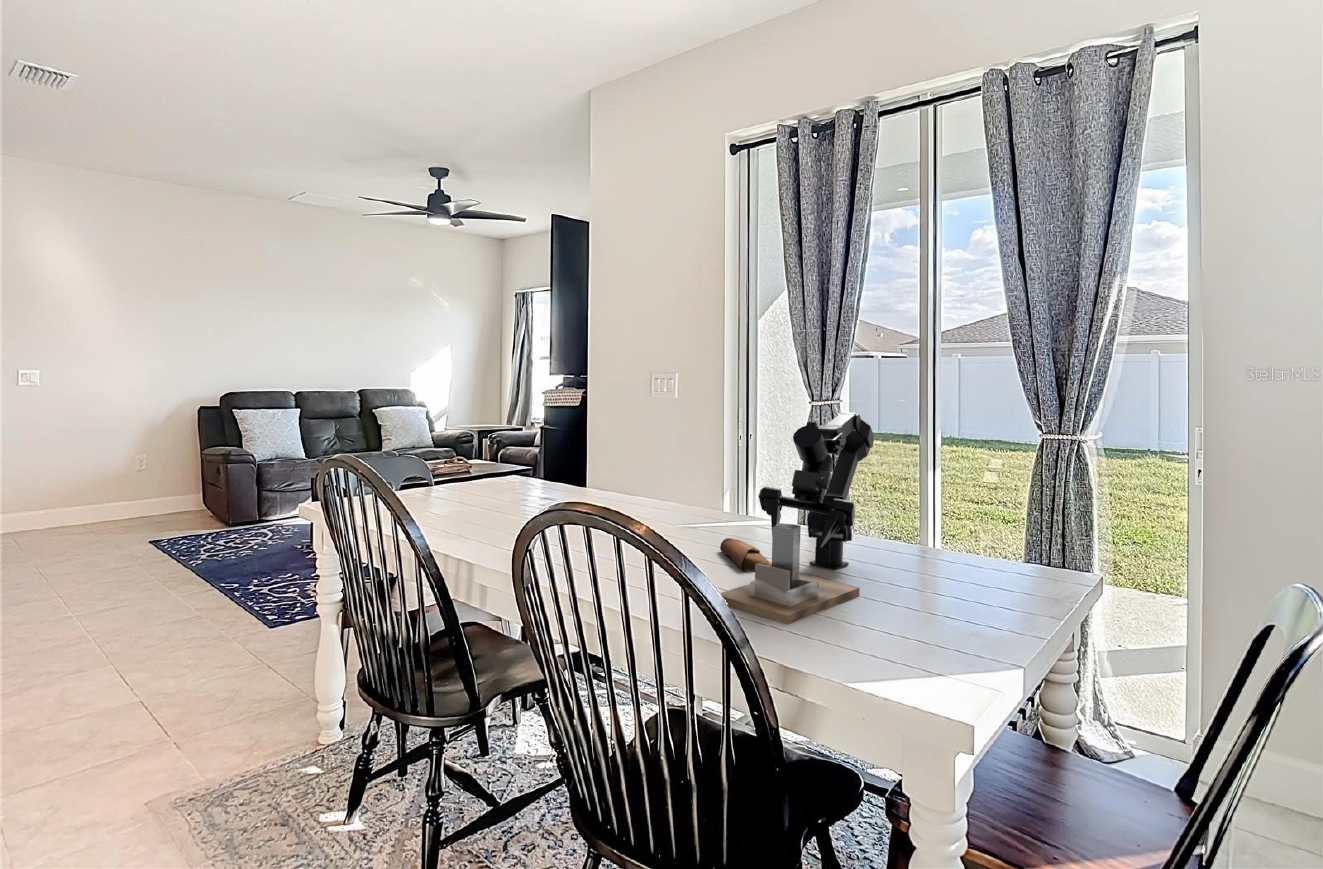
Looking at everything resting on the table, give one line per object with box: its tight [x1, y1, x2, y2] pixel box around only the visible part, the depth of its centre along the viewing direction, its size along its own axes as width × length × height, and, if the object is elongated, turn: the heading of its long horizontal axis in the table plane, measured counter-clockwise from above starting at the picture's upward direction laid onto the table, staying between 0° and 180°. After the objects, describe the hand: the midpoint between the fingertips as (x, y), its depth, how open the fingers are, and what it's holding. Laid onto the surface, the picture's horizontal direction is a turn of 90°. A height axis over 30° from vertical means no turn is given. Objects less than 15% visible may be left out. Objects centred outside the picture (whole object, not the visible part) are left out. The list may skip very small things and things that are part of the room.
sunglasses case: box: [719, 537, 772, 572], centre depth 164 cm, size 18×7×7 cm
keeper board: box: [720, 563, 861, 625], centre depth 136 cm, size 24×16×8 cm, turn 135°
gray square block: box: [771, 522, 801, 590], centre depth 133 cm, size 4×4×13 cm
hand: (796, 542), depth 140 cm, fingers open, 9 cm apart
